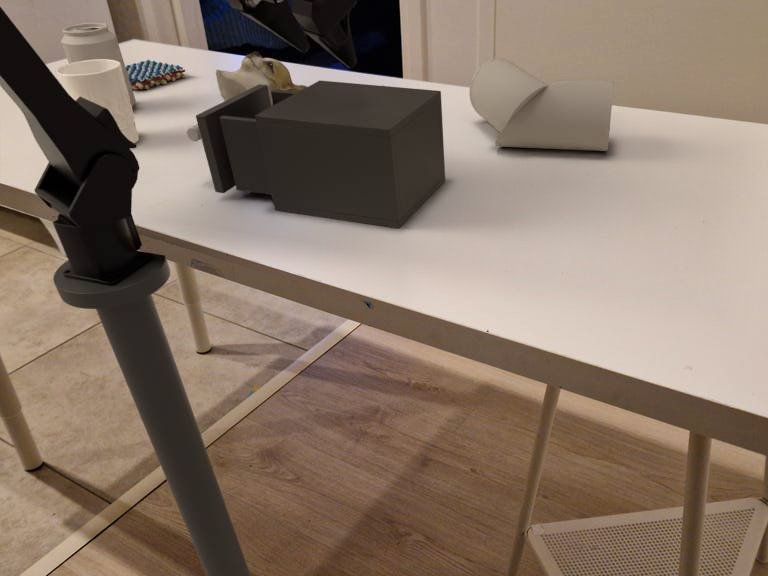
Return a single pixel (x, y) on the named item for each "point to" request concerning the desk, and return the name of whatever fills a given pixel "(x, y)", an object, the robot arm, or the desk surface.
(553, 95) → the bent grey cylinder
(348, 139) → the matte charcoal box
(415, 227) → the desk surface
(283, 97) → the drawer
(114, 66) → the white cup
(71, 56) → the can
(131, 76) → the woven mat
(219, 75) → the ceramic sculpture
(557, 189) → the desk surface
